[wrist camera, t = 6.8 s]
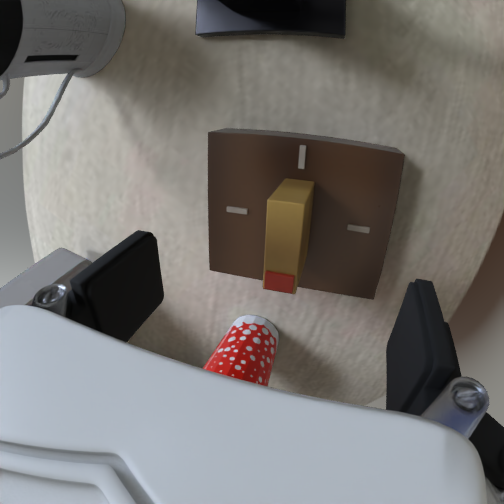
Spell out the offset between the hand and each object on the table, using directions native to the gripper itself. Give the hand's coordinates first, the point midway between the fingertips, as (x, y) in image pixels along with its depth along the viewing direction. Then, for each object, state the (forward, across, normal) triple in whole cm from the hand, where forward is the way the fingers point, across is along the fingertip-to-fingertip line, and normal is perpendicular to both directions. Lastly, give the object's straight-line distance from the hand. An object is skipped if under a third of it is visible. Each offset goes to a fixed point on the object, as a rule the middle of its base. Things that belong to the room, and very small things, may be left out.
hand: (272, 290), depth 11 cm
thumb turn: (+9, +1, +1) cm, 10 cm away
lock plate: (+12, +1, +1) cm, 13 cm away
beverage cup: (+12, +4, +14) cm, 19 cm away
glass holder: (+12, +20, -11) cm, 26 cm away
